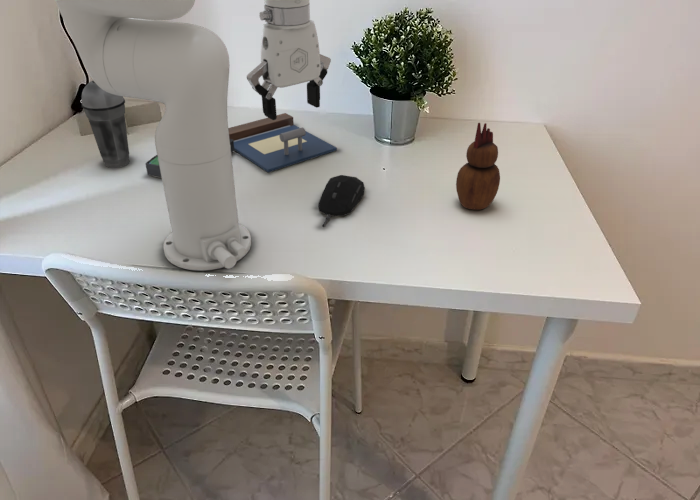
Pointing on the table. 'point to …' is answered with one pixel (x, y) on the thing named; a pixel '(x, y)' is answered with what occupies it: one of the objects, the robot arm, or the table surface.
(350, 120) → the table surface
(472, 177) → the wooden figurine
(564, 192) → the table surface
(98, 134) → the beverage cup
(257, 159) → the sign
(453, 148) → the table surface
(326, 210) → the gaming mouse
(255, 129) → the bar
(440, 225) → the table surface
